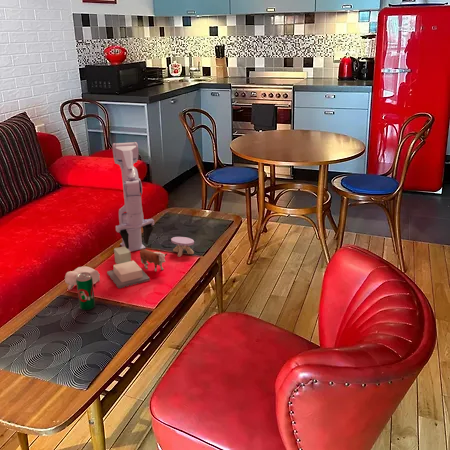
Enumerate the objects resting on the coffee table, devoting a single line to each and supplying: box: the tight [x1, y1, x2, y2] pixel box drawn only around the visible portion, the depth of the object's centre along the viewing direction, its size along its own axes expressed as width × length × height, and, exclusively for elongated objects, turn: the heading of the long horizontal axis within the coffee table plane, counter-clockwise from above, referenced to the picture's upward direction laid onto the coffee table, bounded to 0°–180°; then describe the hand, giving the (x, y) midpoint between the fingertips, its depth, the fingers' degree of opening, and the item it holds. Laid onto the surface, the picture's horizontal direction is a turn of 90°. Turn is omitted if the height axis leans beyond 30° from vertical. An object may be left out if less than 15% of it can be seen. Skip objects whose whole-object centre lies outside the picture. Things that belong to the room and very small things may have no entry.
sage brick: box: [113, 246, 132, 265], centre depth 195 cm, size 6×4×6 cm
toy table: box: [170, 236, 195, 258], centre depth 205 cm, size 10×9×6 cm
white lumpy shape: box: [64, 266, 101, 290], centre depth 177 cm, size 9×8×15 cm
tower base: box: [106, 259, 151, 289], centre depth 185 cm, size 13×12×4 cm
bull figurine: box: [139, 248, 168, 272], centre depth 191 cm, size 4×14×8 cm, turn 53°
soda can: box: [76, 272, 96, 311], centre depth 164 cm, size 5×5×12 cm
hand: (136, 245), depth 190 cm, fingers open, 7 cm apart
